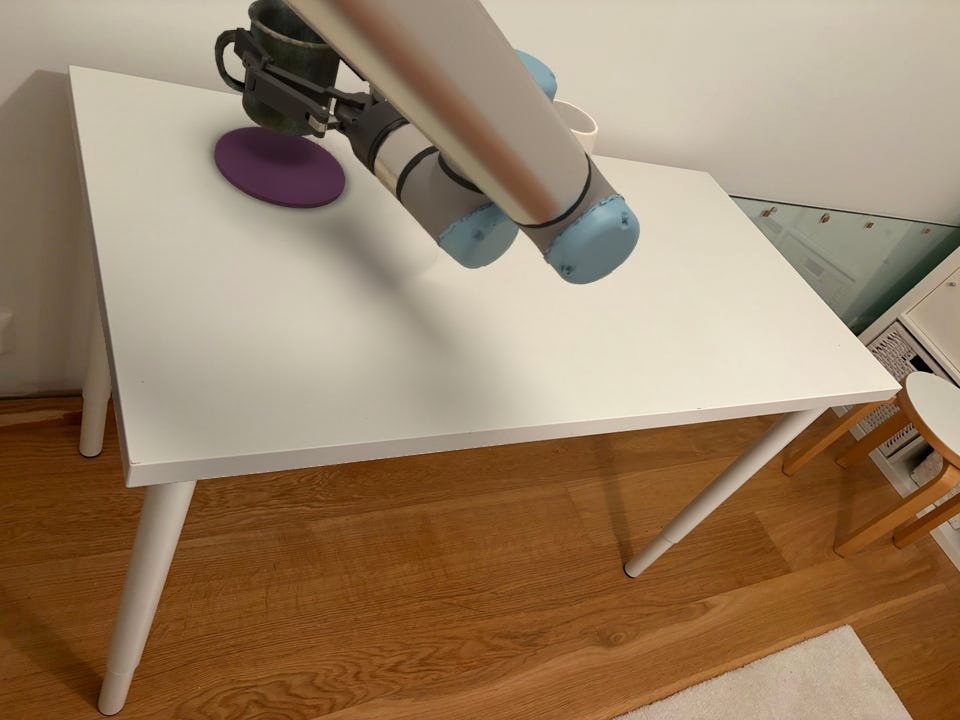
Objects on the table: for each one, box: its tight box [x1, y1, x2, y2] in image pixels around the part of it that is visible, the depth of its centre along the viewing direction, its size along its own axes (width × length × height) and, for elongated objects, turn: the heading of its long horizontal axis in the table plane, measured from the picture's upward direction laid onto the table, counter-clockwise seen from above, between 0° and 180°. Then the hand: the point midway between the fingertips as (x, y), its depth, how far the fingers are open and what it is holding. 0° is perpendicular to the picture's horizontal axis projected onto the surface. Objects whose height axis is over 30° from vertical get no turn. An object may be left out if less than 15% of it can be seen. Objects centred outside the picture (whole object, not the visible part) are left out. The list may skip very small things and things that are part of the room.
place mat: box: [214, 126, 346, 209], centre depth 91 cm, size 16×16×1 cm
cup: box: [553, 98, 599, 159], centre depth 105 cm, size 13×13×14 cm
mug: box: [213, 0, 341, 137], centre depth 85 cm, size 11×15×12 cm
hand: (290, 40), depth 82 cm, fingers closed on mug, 12 cm apart
